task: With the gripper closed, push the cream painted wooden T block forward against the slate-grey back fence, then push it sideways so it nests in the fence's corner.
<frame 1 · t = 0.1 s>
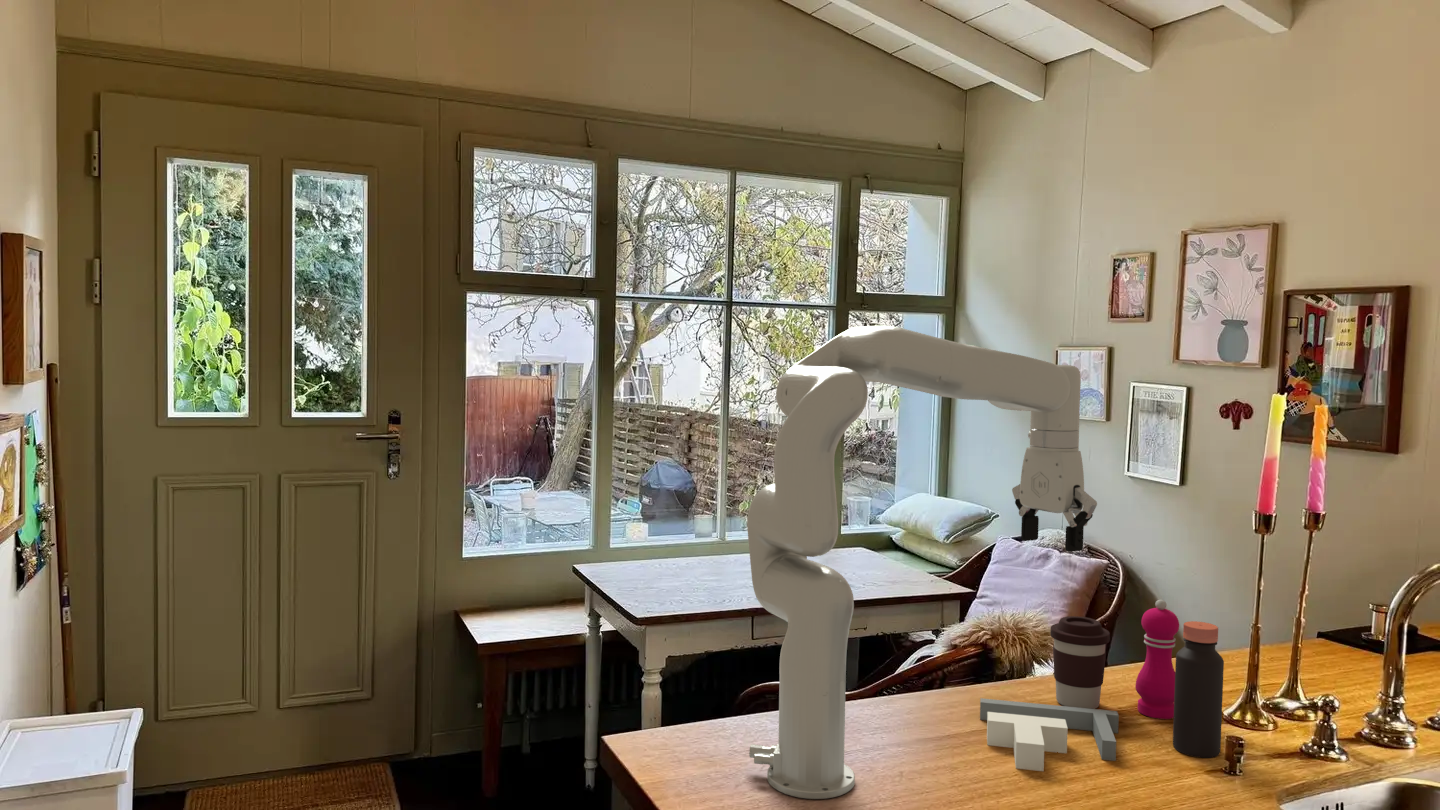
hand: (1051, 545, 160), 31 cm above the worktop, tool pointing down, fingers open, 9 cm apart
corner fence: (1057, 740, 158), on the worktop
coffee cup: (1077, 704, 175), on the worktop
pepper mill: (1157, 714, 171), on the worktop
t block: (1027, 754, 152), on the worktop
bottle: (1196, 751, 155), on the worktop
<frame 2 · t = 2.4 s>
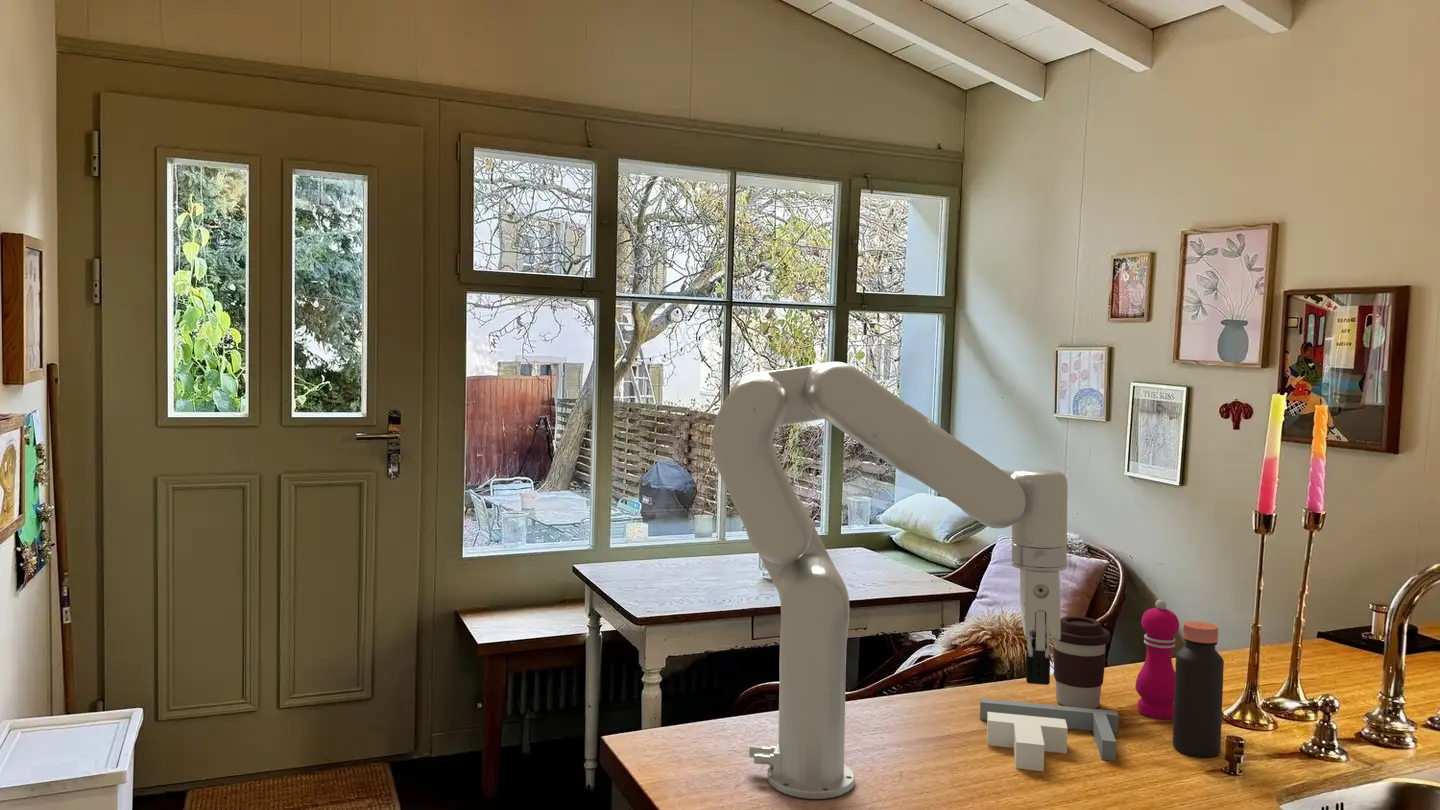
hand: (1037, 682, 141), 15 cm above the worktop, tool pointing down, fingers closed
nothing on the worktop moved.
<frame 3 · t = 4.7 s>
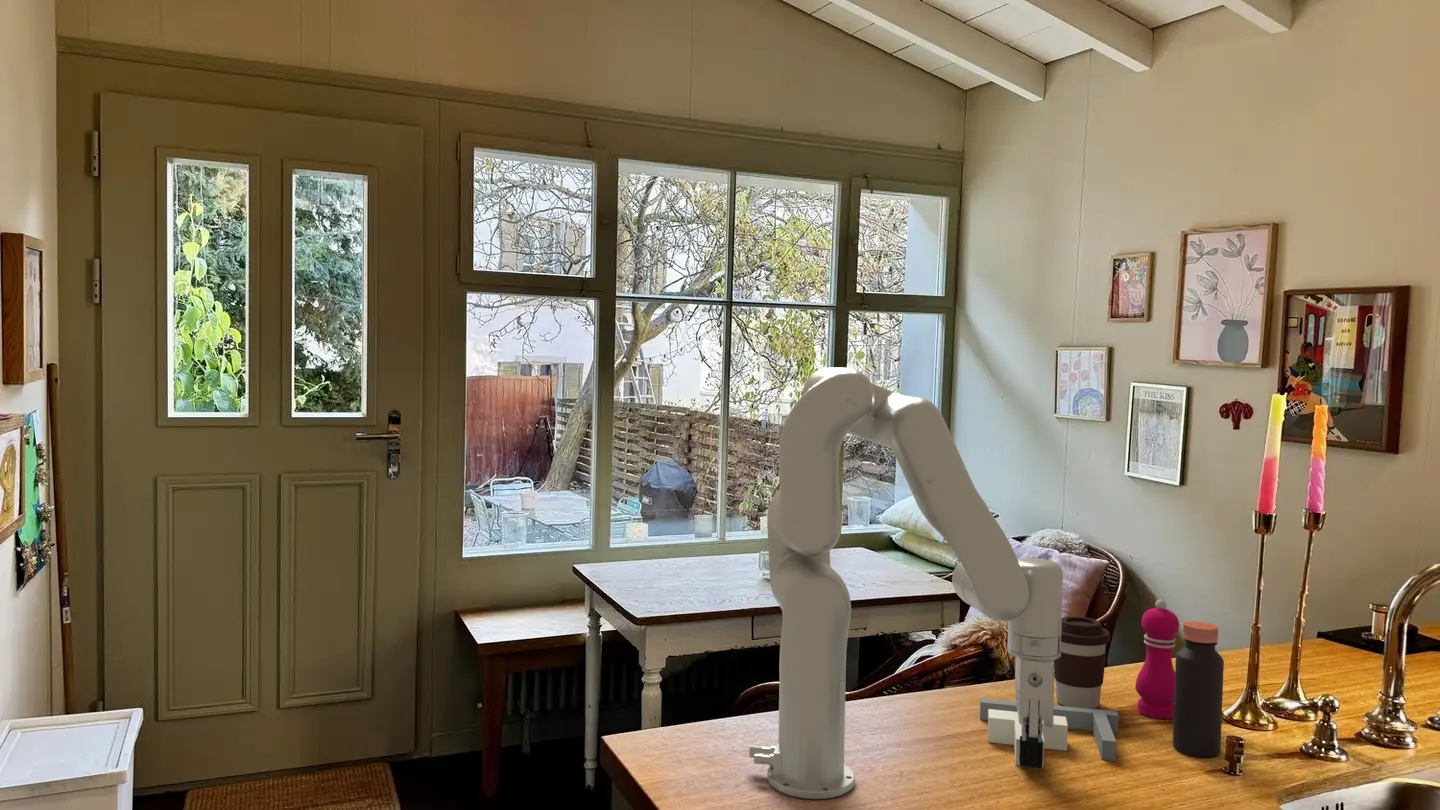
hand: (1030, 764, 145), 1 cm above the worktop, tool pointing down, fingers closed
t block: (1027, 751, 153), on the worktop, touching gripper
everything else where it was.
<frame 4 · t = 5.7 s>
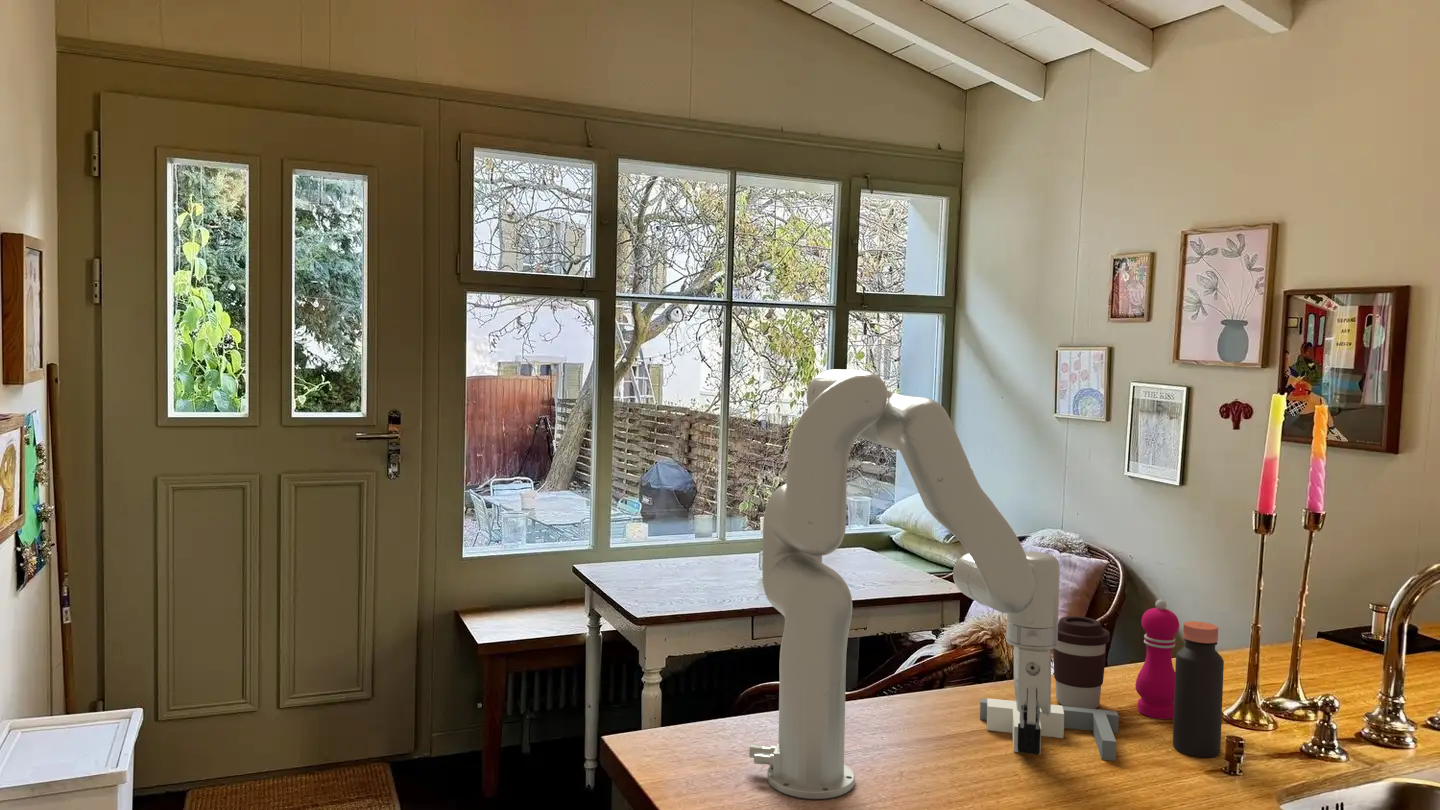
hand: (1028, 751, 151), 1 cm above the worktop, tool pointing down, fingers closed
t block: (1025, 738, 159), on the worktop, touching gripper
everything else where it was.
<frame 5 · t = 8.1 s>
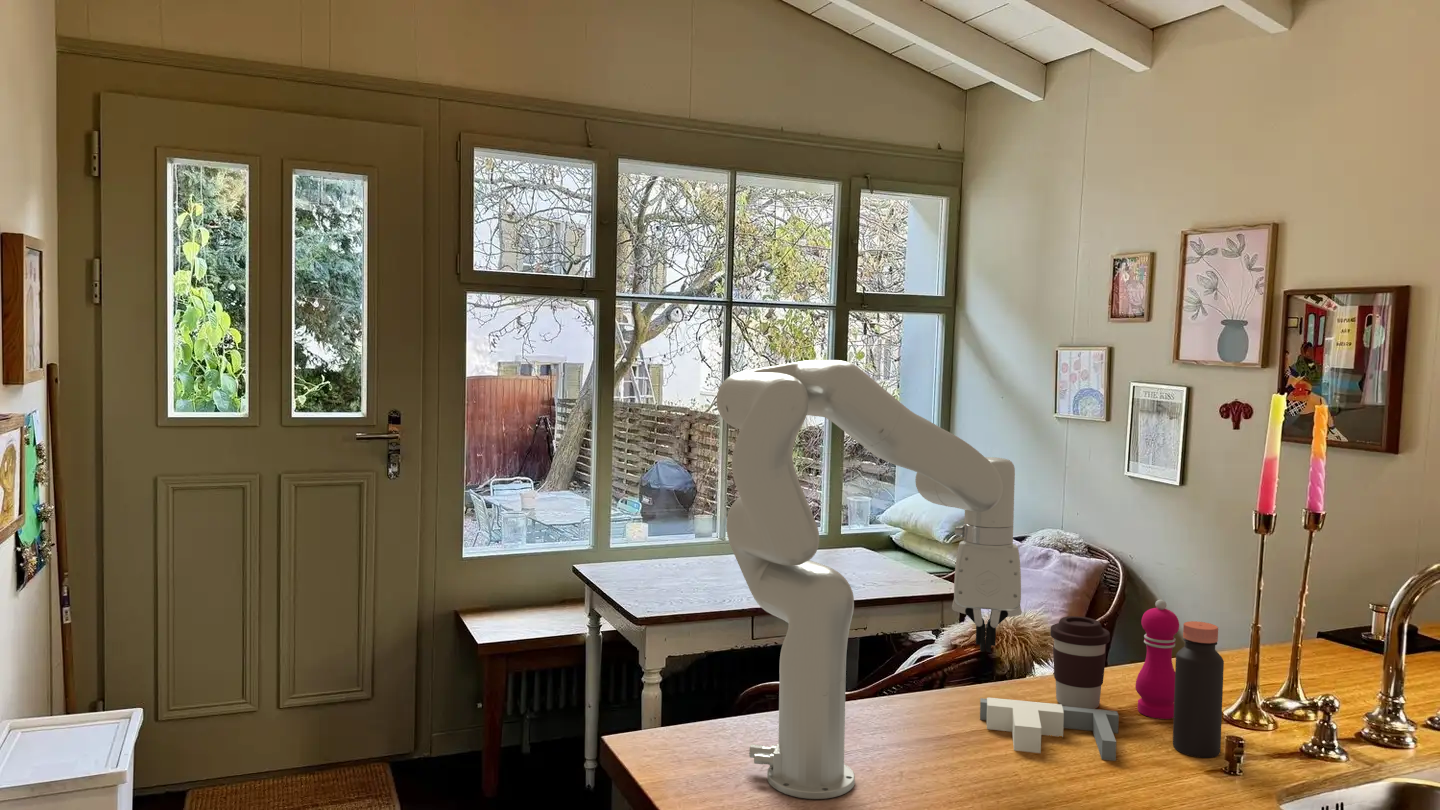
hand: (985, 649, 156), 15 cm above the worktop, tool pointing down, fingers closed
t block: (1025, 737, 159), on the worktop
everything else where it was.
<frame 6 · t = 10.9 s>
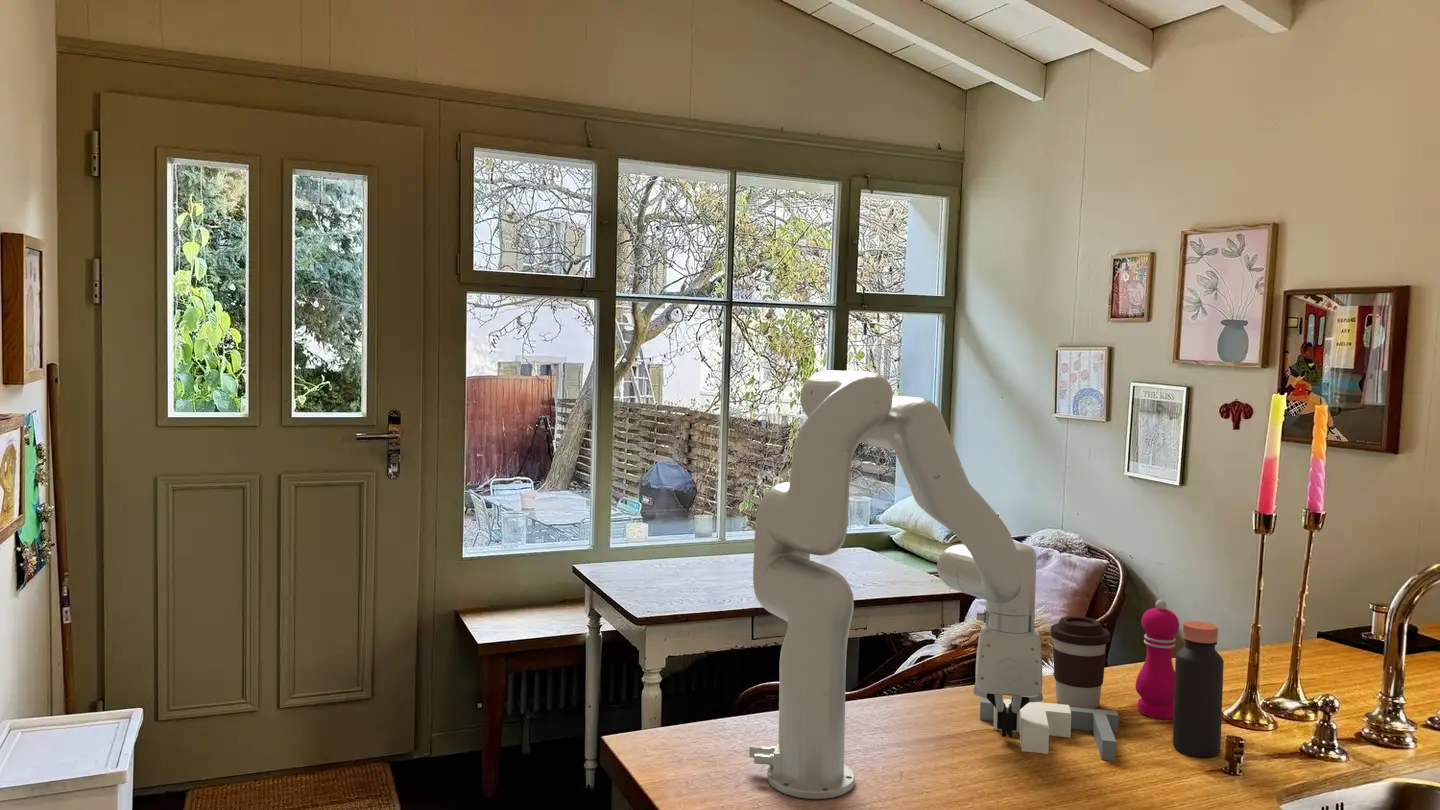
hand: (1006, 733, 157), 1 cm above the worktop, tool pointing down, fingers closed
t block: (1032, 738, 159), on the worktop, touching gripper
everything else where it was.
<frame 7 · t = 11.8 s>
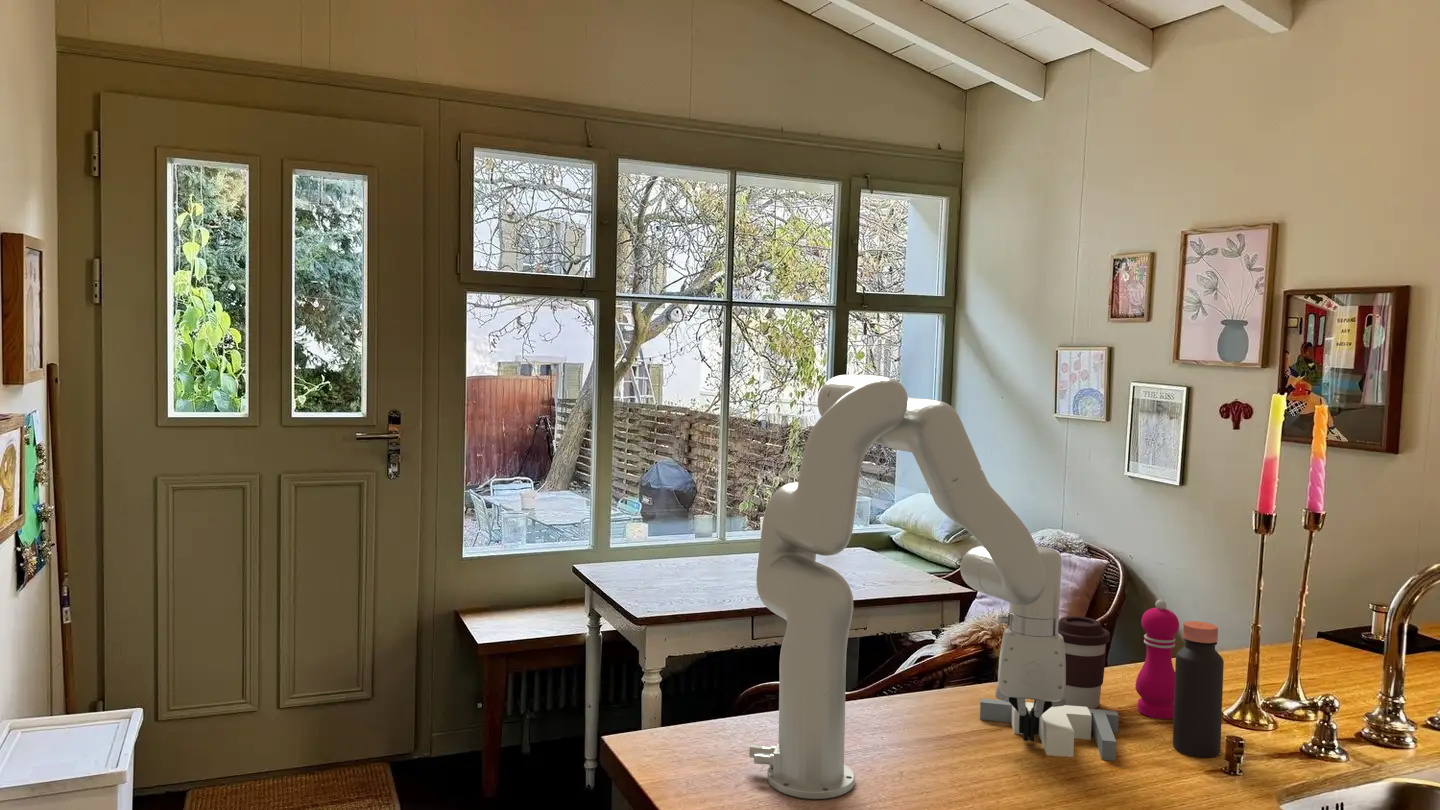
hand: (1028, 738, 156), 1 cm above the worktop, tool pointing down, fingers closed
t block: (1054, 741, 158), on the worktop, touching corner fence, gripper
everything else where it was.
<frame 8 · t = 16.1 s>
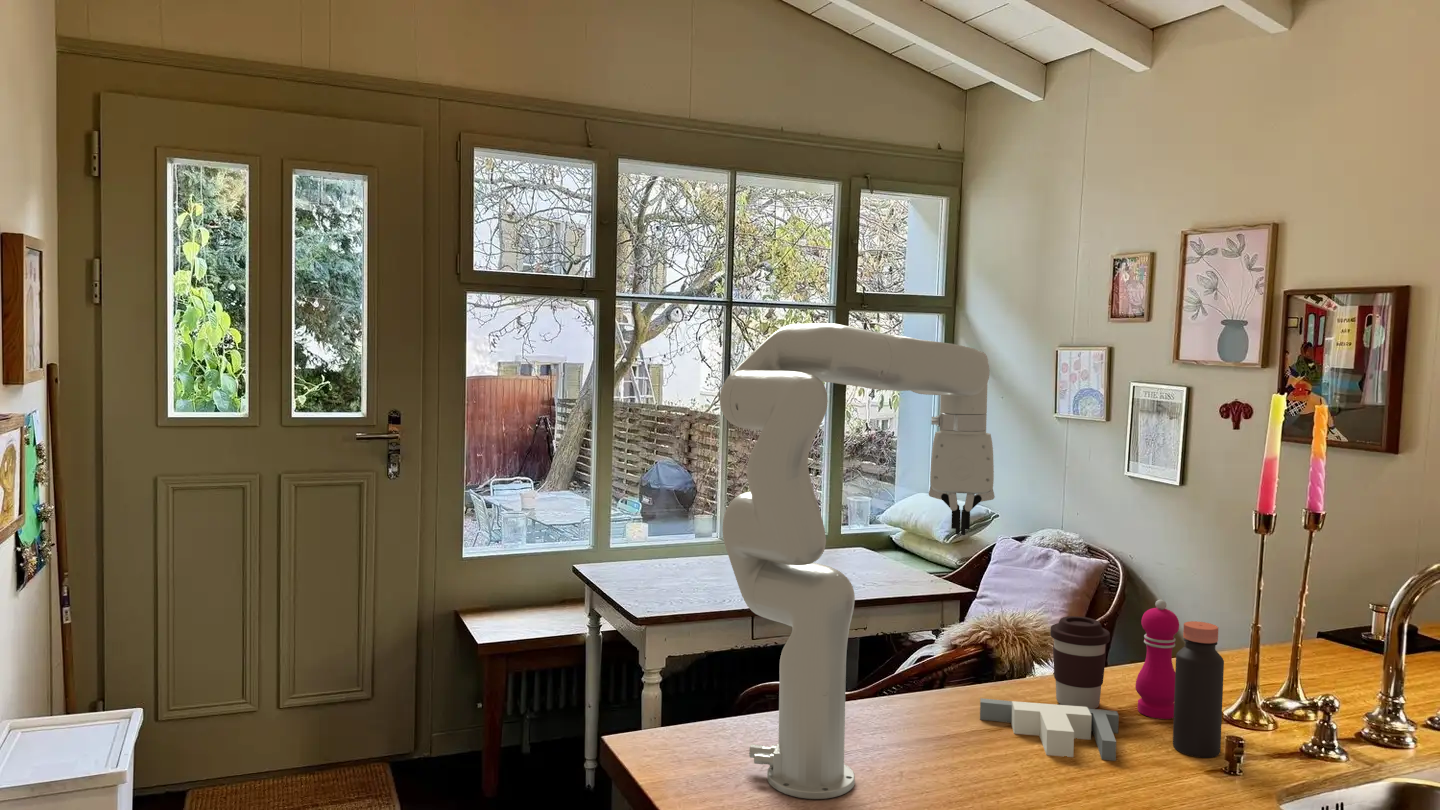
hand: (960, 533, 164), 32 cm above the worktop, tool pointing down, fingers closed
t block: (1053, 741, 158), on the worktop
everything else where it was.
at the end: t block 1.0 cm from the target spot on the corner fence, point 0.0 cm above the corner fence's base; t block tilted 0°; t block moved 8.0 cm from its start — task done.
